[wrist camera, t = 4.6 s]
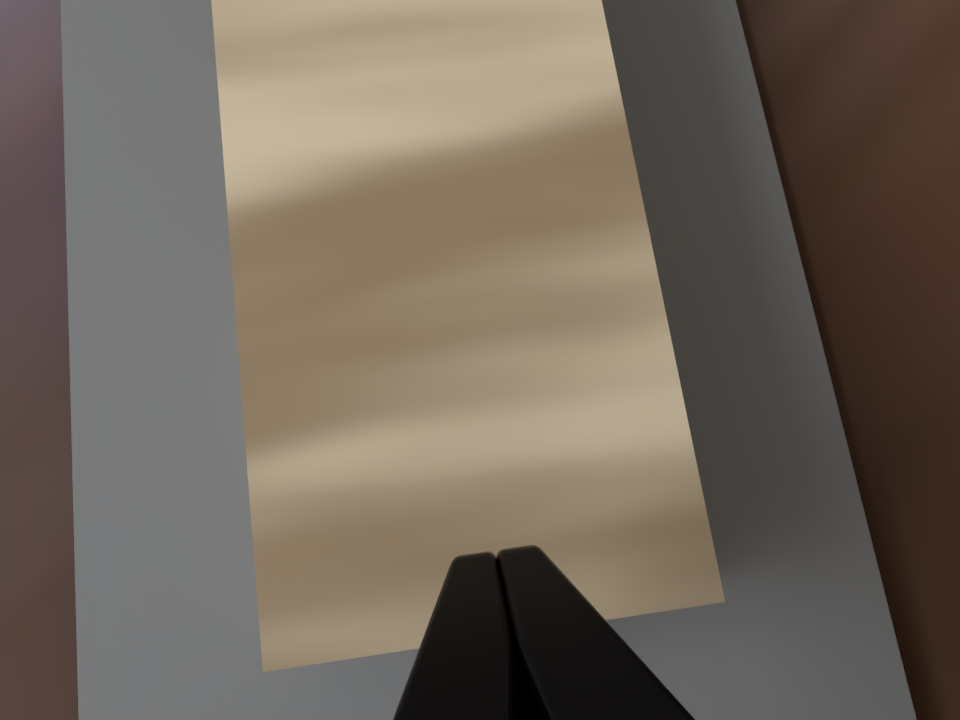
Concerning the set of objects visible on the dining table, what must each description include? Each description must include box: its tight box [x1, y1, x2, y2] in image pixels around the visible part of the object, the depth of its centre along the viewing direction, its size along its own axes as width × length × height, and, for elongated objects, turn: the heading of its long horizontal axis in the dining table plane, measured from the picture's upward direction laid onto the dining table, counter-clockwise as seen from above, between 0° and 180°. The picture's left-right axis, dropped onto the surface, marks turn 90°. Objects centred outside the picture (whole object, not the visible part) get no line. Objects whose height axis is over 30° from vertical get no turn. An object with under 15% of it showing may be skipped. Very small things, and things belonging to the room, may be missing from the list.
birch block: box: [211, 0, 725, 672], centre depth 15 cm, size 4×6×14 cm
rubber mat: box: [61, 0, 917, 720], centre depth 15 cm, size 26×14×1 cm, turn 8°
